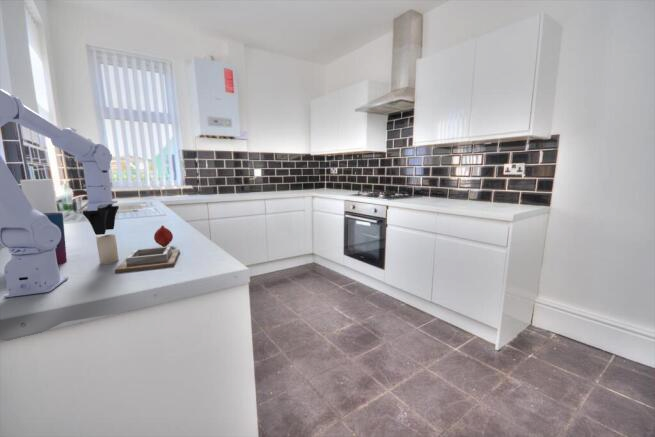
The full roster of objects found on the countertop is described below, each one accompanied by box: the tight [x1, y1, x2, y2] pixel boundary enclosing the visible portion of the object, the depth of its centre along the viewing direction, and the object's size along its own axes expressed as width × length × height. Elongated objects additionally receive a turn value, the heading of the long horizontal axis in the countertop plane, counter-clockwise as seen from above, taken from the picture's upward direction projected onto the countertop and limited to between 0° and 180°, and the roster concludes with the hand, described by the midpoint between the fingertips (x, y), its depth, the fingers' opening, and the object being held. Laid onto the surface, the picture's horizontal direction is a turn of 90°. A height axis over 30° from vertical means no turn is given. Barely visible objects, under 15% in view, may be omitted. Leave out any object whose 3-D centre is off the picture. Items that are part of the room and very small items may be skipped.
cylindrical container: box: [19, 178, 59, 213], centre depth 92 cm, size 7×7×25 cm
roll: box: [95, 234, 120, 265], centre depth 87 cm, size 5×5×8 cm
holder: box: [114, 245, 181, 274], centre depth 87 cm, size 16×14×3 cm
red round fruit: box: [153, 225, 174, 247], centre depth 104 cm, size 6×6×8 cm
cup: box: [43, 212, 68, 265], centre depth 86 cm, size 7×7×15 cm
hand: (105, 231), depth 87 cm, fingers open, 7 cm apart
